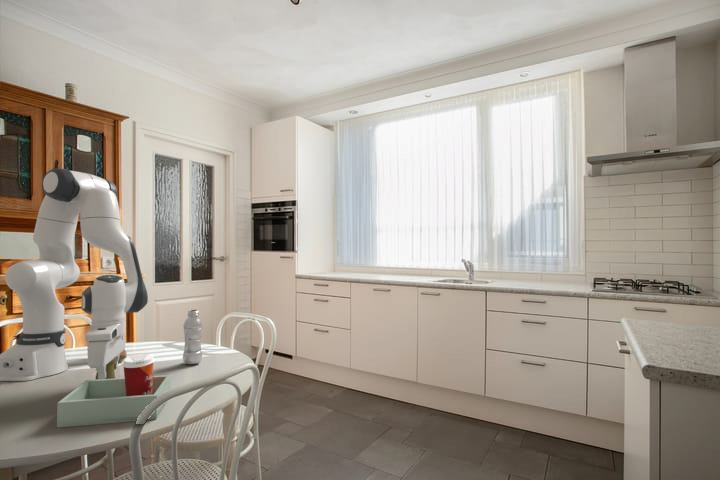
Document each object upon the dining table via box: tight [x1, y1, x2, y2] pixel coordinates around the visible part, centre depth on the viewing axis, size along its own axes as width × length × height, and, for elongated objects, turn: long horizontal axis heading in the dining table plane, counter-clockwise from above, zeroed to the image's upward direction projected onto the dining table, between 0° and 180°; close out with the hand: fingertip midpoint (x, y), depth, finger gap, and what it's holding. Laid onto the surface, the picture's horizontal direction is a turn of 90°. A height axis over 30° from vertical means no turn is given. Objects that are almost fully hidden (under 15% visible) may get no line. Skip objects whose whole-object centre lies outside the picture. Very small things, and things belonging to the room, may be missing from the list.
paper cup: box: [121, 353, 156, 396], centre depth 104 cm, size 8×8×14 cm
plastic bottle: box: [182, 309, 203, 365], centre depth 144 cm, size 6×7×20 cm
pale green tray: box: [56, 374, 172, 428], centre depth 104 cm, size 22×16×6 cm
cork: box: [94, 357, 116, 380], centre depth 117 cm, size 6×6×11 cm
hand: (108, 374), depth 117 cm, fingers open, 8 cm apart
